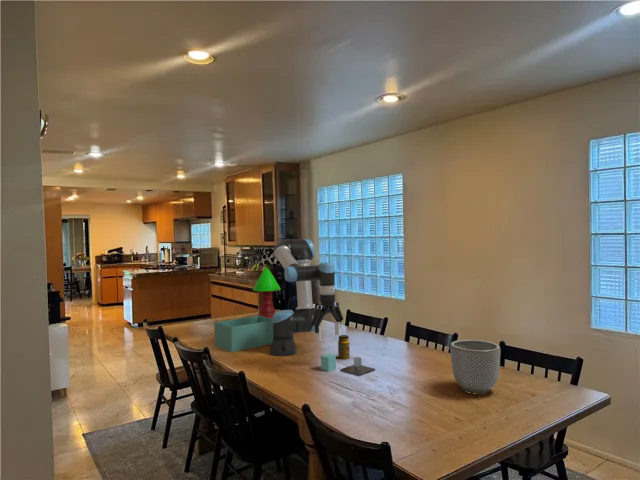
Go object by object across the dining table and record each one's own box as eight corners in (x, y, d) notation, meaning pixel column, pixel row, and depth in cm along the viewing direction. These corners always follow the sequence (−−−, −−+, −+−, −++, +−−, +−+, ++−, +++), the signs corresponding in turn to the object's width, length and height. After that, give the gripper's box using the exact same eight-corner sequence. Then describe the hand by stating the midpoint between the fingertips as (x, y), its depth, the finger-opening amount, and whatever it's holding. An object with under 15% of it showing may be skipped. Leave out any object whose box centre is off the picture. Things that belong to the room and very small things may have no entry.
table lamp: (257, 326, 325) (256, 265, 325) (284, 326, 322) (283, 265, 322) (249, 332, 306) (248, 267, 305) (277, 332, 303) (276, 266, 302)
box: (214, 346, 270) (214, 322, 269) (259, 337, 290) (258, 315, 290) (231, 352, 254) (231, 327, 254) (277, 343, 275) (277, 319, 274)
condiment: (352, 358, 237) (352, 336, 236) (340, 361, 232) (339, 338, 232) (344, 355, 243) (344, 333, 243) (332, 358, 238) (331, 335, 238)
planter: (495, 402, 172) (495, 353, 172) (445, 393, 182) (444, 347, 182) (504, 387, 189) (504, 342, 188) (457, 380, 199) (457, 337, 199)
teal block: (320, 369, 218) (320, 355, 218) (328, 367, 222) (328, 353, 222) (328, 371, 214) (328, 357, 214) (335, 369, 218) (335, 355, 218)
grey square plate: (340, 370, 215) (340, 357, 215) (356, 365, 224) (356, 353, 224) (359, 376, 207) (359, 362, 207) (375, 370, 215) (375, 357, 215)
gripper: (314, 297, 206) (315, 342, 206) (349, 292, 224) (350, 334, 224) (303, 295, 211) (304, 340, 211) (338, 290, 229) (339, 332, 229)
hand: (328, 337), depth 218 cm, fingers open, 13 cm apart
